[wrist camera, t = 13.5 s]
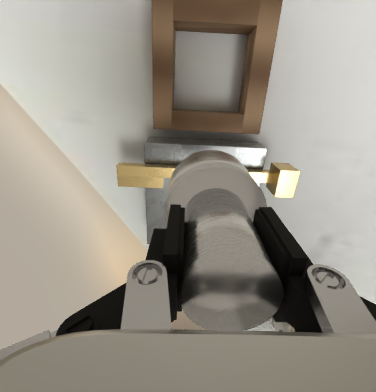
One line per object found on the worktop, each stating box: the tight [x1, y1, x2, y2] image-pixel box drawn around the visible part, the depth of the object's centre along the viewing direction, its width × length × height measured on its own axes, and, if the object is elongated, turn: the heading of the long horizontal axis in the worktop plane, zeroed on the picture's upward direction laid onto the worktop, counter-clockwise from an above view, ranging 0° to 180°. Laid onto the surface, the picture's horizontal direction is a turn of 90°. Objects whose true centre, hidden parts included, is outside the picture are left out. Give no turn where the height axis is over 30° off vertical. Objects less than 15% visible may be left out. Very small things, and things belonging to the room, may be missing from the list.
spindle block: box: [144, 137, 267, 244], centre depth 30 cm, size 14×14×4 cm
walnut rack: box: [152, 0, 283, 134], centre depth 24 cm, size 12×12×4 cm
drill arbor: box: [163, 150, 284, 331], centre depth 12 cm, size 6×6×10 cm
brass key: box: [116, 162, 300, 198], centre depth 25 cm, size 3×20×3 cm, turn 87°
